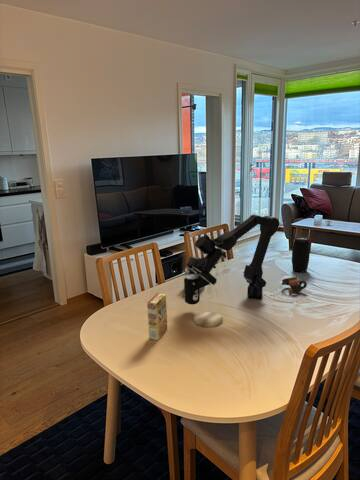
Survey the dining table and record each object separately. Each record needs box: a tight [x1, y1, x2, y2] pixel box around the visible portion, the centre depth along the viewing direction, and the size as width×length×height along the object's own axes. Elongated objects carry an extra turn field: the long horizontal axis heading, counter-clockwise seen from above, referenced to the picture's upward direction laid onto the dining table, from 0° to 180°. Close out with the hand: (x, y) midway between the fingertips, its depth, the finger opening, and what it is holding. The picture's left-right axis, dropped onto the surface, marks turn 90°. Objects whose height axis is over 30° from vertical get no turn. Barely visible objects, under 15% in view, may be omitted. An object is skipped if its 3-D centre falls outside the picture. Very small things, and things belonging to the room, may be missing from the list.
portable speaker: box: [291, 235, 311, 274], centre depth 203 cm, size 9×9×20 cm
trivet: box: [193, 311, 224, 328], centre depth 150 cm, size 12×12×1 cm
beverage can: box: [183, 274, 201, 305], centre depth 156 cm, size 7×7×12 cm
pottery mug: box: [280, 276, 308, 295], centre depth 177 cm, size 12×10×8 cm
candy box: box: [146, 293, 168, 341], centre depth 138 cm, size 9×4×15 cm, turn 158°
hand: (189, 288), depth 155 cm, fingers closed on beverage can, 6 cm apart
